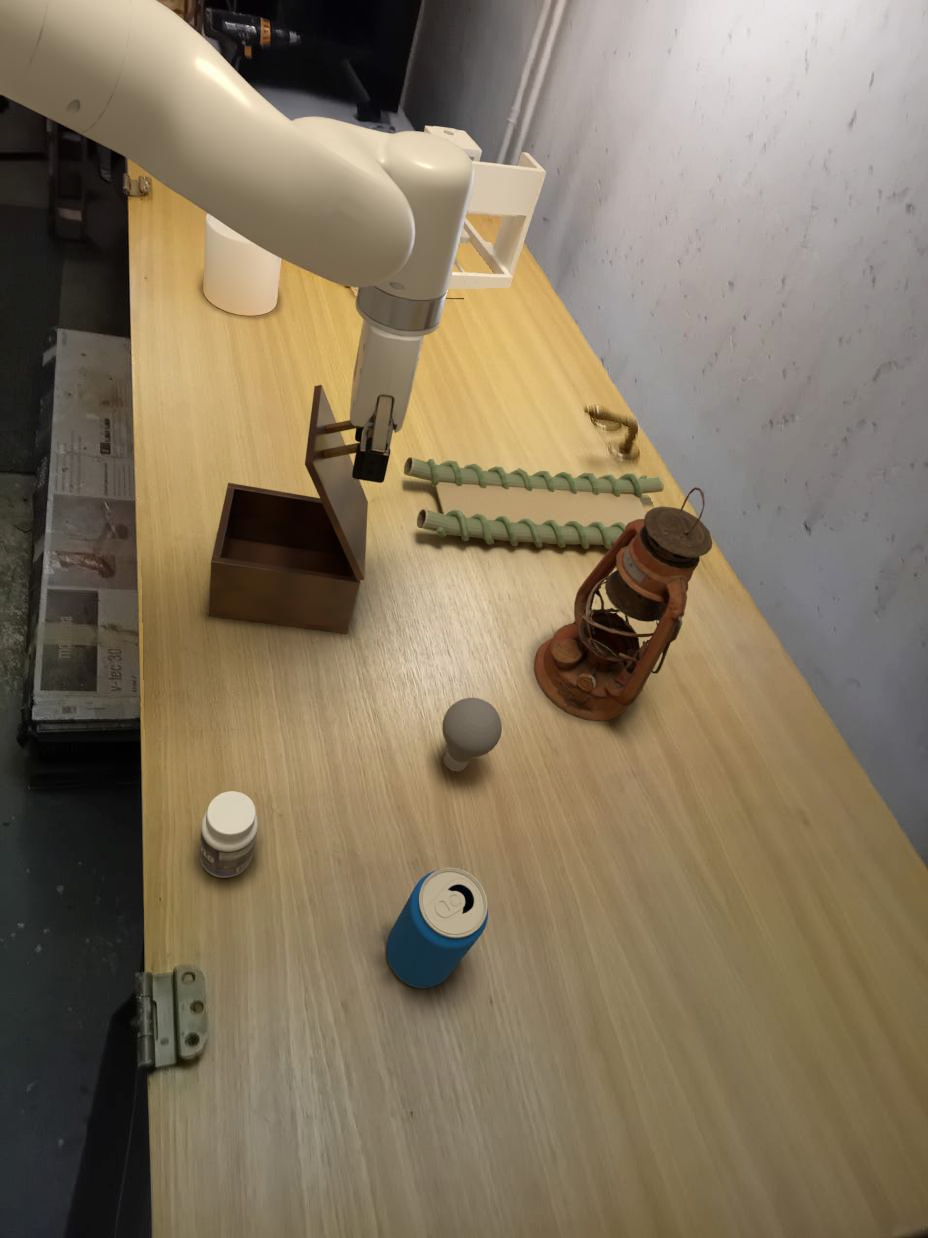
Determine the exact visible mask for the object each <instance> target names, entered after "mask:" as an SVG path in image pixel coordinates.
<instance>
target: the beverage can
mask: <svg viewBox="0 0 928 1238" xmlns="http://www.w3.org/2000/svg"><path fill="white" fill-rule="evenodd" d="M488 905H489V904H488V897H487V894H486V892H485V889H484V887H483V885H482V883H480V881H479V880H478V879H477V878H476V877H475V876H474V875H473V874H471V873H470V872H468V871H466V870H464V869H461V868H458V867H443V868H440V869H436V870H432V871H430V872H429V873H427V874H425V875H424V876H423V877H422V878H420V879H419V881H417V883H416V884H415V886H414V888H413V890H412V891H411V893H410V895H409V897H408V899H407V900H406V902H405V904H404V906H403V908H402V910H401V911H400V913H399V915H398V916H397V919H396V920H395V922H394V924H393V926H392V928H391V929H390V931H389V934H388V936H387V940H386V945H385V946H386V948H385V949H386V958H387V961H388V964H389V966H390V968H391V970H392V971H393V973H394V974H395V975H396V976H397V977H398V978H399V979H400V980H401V981H403V983H405V984H407V985H409V986H412V987H415V988H425V989H426V988H431V987H435V986H437V985H439V984H442V983H443V982H444V981H446V979H448V977H449V976H450V975H451V974H452V973H453V972H454V970H455V969H456V968H457V966H458V965H459V964H460V962H461V961H462V960H463V959H464V958H465V956H466V955H467V953H468V952H469V951H470V950H471V948H472V947H473V946H474V945H475V943H476V942H477V941H478V939H479V938H481V935H482V934H483V933H484V931H485V929H486V927H487V924H488V919H489V906H488Z"/></svg>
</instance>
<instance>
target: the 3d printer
mask: <svg viewBox="0 0 928 1238" xmlns="http://www.w3.org/2000/svg"><path fill="white" fill-rule="evenodd" d="M423 132H425V133H430V134H434V135H437V136H440V137H442V138H445V139H447V140H449V141H451V142H453V143H454V144H456V145H458V146H459V147H460V148H462V149H463V150H464V151H465V152H466V153H467V155H468V156H469V157H470V159H471V161H472V164H473V166H474V184H473V189H472V194H471V198H470V202H469V206H468V210H467V214H466V215H479V216H489V217H490V216H491V217H501V220H500V224H499V226H498V231H497V233H496V237H495V240H494V241H495V242H494V243H491V242H490V241H486V240H484V239H483V237H482V236H481V235H480V234H479V232H478V231H477V230H476V228H475V227H474V226H473V224H471V222H470V221H469V219H467V217H466V218H465V222H464V226H463V230H462V234H461V238H460V242H459V243H466V244H467V243H468V241H469V242H470V243H471V244H472V245H473V247H474V248H475V249H476V251H477V252H478V253H479V255H480V256H481V257H482V258H483V260H484V261H485V262H486V264H487V265H488V266H489V268H490V269H491V270H492V272H493V273H494V274H489V273H480V272H467V271H465V270H464V268H463V267H462V266H461V264H460V263H459V261H458V260H457V259H455V263H454V266H456V267H457V269H458V270H459V271H452V275H451V279H450V284H449V287H448V289H482V288H483V289H486V288H509V287H510V288H511V285H512V283H513V279H514V274H515V271H516V268H517V265H518V262H519V259H520V255H521V252H522V249H523V246H524V243H525V241H526V237H527V234H528V230H529V228H530V225H531V222H532V218H533V216H534V212H535V209H536V206H537V204H538V203H537V202H538V200H539V197H540V194H541V191H542V188H543V185H544V181H545V178H546V176H547V171H546V170H545V169H544V168H543V167H542V166H541V165H540V163H538V161H537V160H535V158H534V157H533V156H532V155H531V154H530V153H529V152H525V151H522V152H521V153H520V157H519V160H518V163H517V165H511V164H503V163H494V162H487V161H481V157H482V153H483V149H482V148H481V147H480V146H479V145H478V144H477V143H476V142H475V141H474V139H473V138H472V137H471V136H470V135H469V134H468V133H467V132H466V131H465V130H460V129H457V128H452V127H445V126H437V125H433V126H432V125H424V130H423ZM349 288H350V289H351V292H352V293H353V294H354V296H355V297H356V296H357V291H356V290H357V289H358V287H355V288H354V287H350V286H349ZM355 289H356V290H355Z"/></svg>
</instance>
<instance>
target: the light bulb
mask: <svg viewBox="0 0 928 1238" xmlns="http://www.w3.org/2000/svg"><path fill="white" fill-rule="evenodd" d="M502 724H503V723H502V720H501V717H500V714H499V712H498V711H497V710H496V708H495V707H494V705H492V704H491V703H490V702H488V701H487V700H484V699H482V698H478V697H465V698H462V699H460V700H457V701H456V702H454V703H453V704H451V706H449V708H448V709H447V710H446V712H445V714H444V715H443V720H442V729H441V730H442V735H443V739H444V741H445V743H446V751H445V753H444V756H443V762H444V764H445V766H446V767H447V768H448V769H449V770H451V771H454V772H461V771H464V770H465V769H466V768H467V766H468V764H469V762H470V761H472V760H473V759H475V758H479V757H484V756H485V755H487V754H488V753H490V752H491V751H492V750H493V749H494V748H495V747H496V746H497V745H498V743H499V741H500V739H501V738H502V737H501V736H502V732H503V731H502V730H503V729H502V728H503V727H502V726H503V725H502Z"/></svg>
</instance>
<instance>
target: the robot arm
mask: <svg viewBox="0 0 928 1238" xmlns="http://www.w3.org/2000/svg"><path fill="white" fill-rule="evenodd" d="M0 96H3V97H5V98H7V99H9V100H11V101H13V102H15V103H17V104H20V105H22V106H23V107H25V108H27V109H29V110H32V111H33V112H34V113H35V112H36V113H37V114H40V115H42V116H44V117H46V118H48V119H49V120H52V121H54V122H56V123H58V124H60V125H62V126H64V127H65V128H68V129H70V130H72V131H74V132H75V133H77V134H79V135H81V136H83V137H85V138H87V139H90V140H91V141H94V142H95V143H98V144H100V145H102V146H103V147H106V148H107V149H109V150H112V151H113V152H115V153H117V154H119V155H121V156H123V157H124V158H126V159H128V160H129V161H131V162H133V163H134V164H136V165H137V166H138V167H140V168H141V169H142V170H143V171H145V172H147V174H149V175H150V176H151V177H153V178H154V179H155V180H157V181H158V182H159V183H161V184H162V185H163V186H165V187H167V188H168V189H170V190H171V191H173V192H174V193H176V194H178V196H181V198H184V199H186V200H187V201H188V202H190V203H192V204H193V205H195V206H197V207H198V208H199V209H200V210H202V211H203V212H205V213H206V214H210V215H211V216H213V217H214V218H216V219H217V220H219V221H220V222H222V223H223V224H225V225H226V226H228V227H229V228H231V229H232V230H234V231H235V232H237V233H238V234H240V235H241V236H243V237H244V238H246V239H248V240H249V241H251V242H253V243H254V244H256V245H258V246H259V247H261V248H263V249H264V250H266V251H268V252H270V253H272V254H274V255H275V256H277V257H279V258H281V260H284V261H286V262H288V263H289V264H292V265H293V266H296V267H298V268H300V269H302V270H304V271H307V272H309V273H311V274H314V275H315V276H318V277H320V278H322V279H325V280H327V281H329V282H331V283H334V284H338V285H340V286H344V287H349V288H350V287H358V289H357V296H355V301H354V304H355V305H354V306H355V309H356V311H357V313H358V315H359V316H360V317H361V319H362V324H361V330H360V334H359V335H360V336H359V341H358V347H357V352H356V357H355V358H356V359H355V363H354V369H353V374H352V383H351V395H350V406H349V420H350V421H351V423H352V424H353V425H354V426H356V425H357V426H361V427H360V428H356V429H355V433H354V441H355V442H356V443H359V442H361V444H357V449H356V453H355V456H354V460H353V465H354V466H353V471H352V477H353V478H354V479H359V481H364V482H365V481H366V482H372V483H378V484H382V483H384V482H385V479H386V473H387V469H388V464H389V461H390V455H391V444H392V438H393V432H394V434H397V433H399V432H400V431H401V430H402V428H403V425H404V423H405V419H406V415H407V411H408V409H409V404H410V401H411V395H412V392H413V388H414V383H415V378H416V374H417V370H418V365H419V361H420V356H421V351H422V348H423V342H424V338H425V336H428V335H429V334H432V333H434V332H435V331H436V330H437V329H438V328H439V327H440V326H441V325H440V324H441V321H442V316H443V313H444V308H445V304H446V301H447V299H446V296H447V292H448V287H449V284H450V279H451V275H452V272H454V267H455V259H456V258H457V255H458V250H459V247H460V245H459V242H460V238H461V234H462V230H463V226H464V222H465V218H467V215H468V214H467V210H468V206H469V202H470V198H471V194H472V189H473V184H474V166H473V164H472V161H471V159H470V157H469V156H468V155H467V153H466V152H465V151H464V150H463V149H462V148H460V147H459V146H458V145H456V144H454V143H453V142H451V141H449V140H447V139H445V138H442V137H440V136H437V135H434V134H430V133H425V132H424V131H416V130H405V131H404V130H403V131H399V132H395V133H390V132H385V131H380V130H376V129H372V128H367V127H363V126H359V125H356V124H353V123H349V122H346V121H341V120H338V119H334V118H329V117H325V116H323V117H322V116H303V117H298V118H295V119H293V120H291V119H289V118H288V117H287V116H286V115H284V114H283V113H282V112H280V111H279V109H277V108H276V107H275V106H273V105H272V104H271V102H269V101H268V100H267V99H266V98H265V97H263V96H262V94H260V93H259V92H258V91H257V90H256V89H255V88H253V86H251V85H250V83H248V81H246V79H245V78H244V77H242V75H241V74H240V73H239V72H238V71H237V70H236V69H235V68H234V67H233V66H232V65H231V64H230V63H229V62H228V61H227V59H225V58H224V56H223V55H222V54H221V53H220V52H219V51H218V50H217V48H215V47H214V46H213V45H212V44H211V43H210V42H209V41H208V40H207V39H206V38H204V37H203V35H201V34H200V33H199V32H198V31H197V30H195V29H194V28H193V26H191V25H190V24H189V23H188V22H186V21H185V20H184V19H183V18H181V17H180V16H179V15H178V14H177V13H176V12H174V11H173V10H171V9H170V8H169V7H167V6H165V4H163V3H161V2H159V1H158V0H0ZM456 260H457V259H456ZM372 415H376V417H375V419H374V418H371V416H372ZM369 428H373V429H374V431H373V437H369V438H368V433H369Z"/></svg>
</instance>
